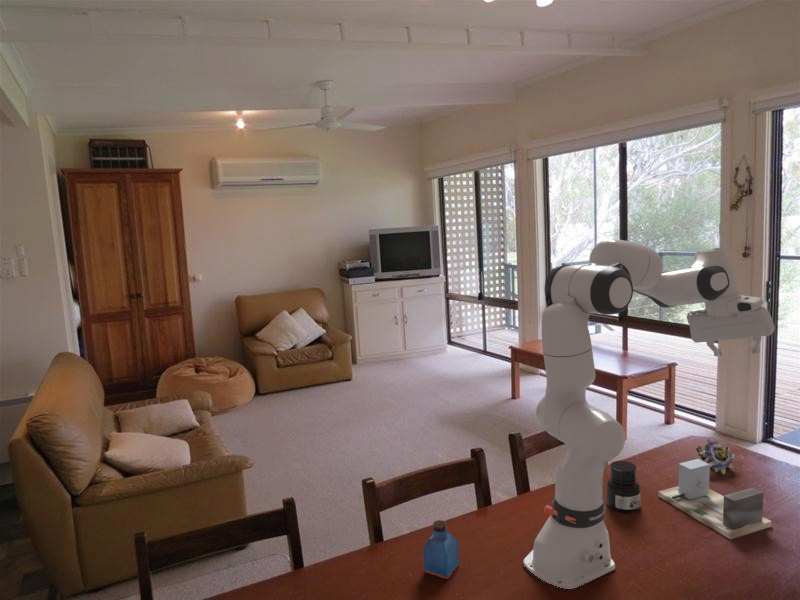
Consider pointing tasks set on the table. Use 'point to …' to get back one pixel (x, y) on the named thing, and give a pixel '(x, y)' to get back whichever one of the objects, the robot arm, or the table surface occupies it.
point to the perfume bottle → (441, 551)
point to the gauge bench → (718, 501)
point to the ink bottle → (623, 487)
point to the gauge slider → (693, 479)
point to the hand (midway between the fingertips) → (736, 354)
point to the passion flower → (716, 456)
